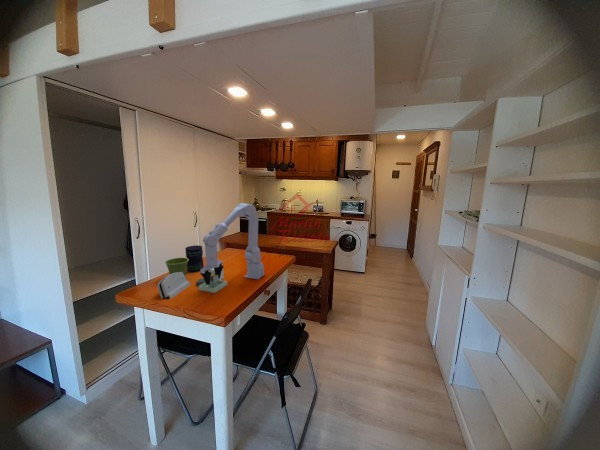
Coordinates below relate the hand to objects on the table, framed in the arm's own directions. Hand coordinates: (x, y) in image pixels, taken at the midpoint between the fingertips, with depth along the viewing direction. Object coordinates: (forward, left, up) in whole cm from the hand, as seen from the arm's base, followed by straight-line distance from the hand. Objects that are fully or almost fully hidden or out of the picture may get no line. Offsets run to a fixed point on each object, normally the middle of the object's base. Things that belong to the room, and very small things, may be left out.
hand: (213, 281), depth 118 cm
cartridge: (0, 0, -3) cm, 3 cm away
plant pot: (+26, -2, -4) cm, 26 cm away
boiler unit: (+6, -9, -3) cm, 11 cm away
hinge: (+16, +10, -4) cm, 19 cm away
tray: (0, 0, -3) cm, 3 cm away
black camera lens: (+28, -17, -4) cm, 33 cm away
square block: (+8, -2, -4) cm, 9 cm away
